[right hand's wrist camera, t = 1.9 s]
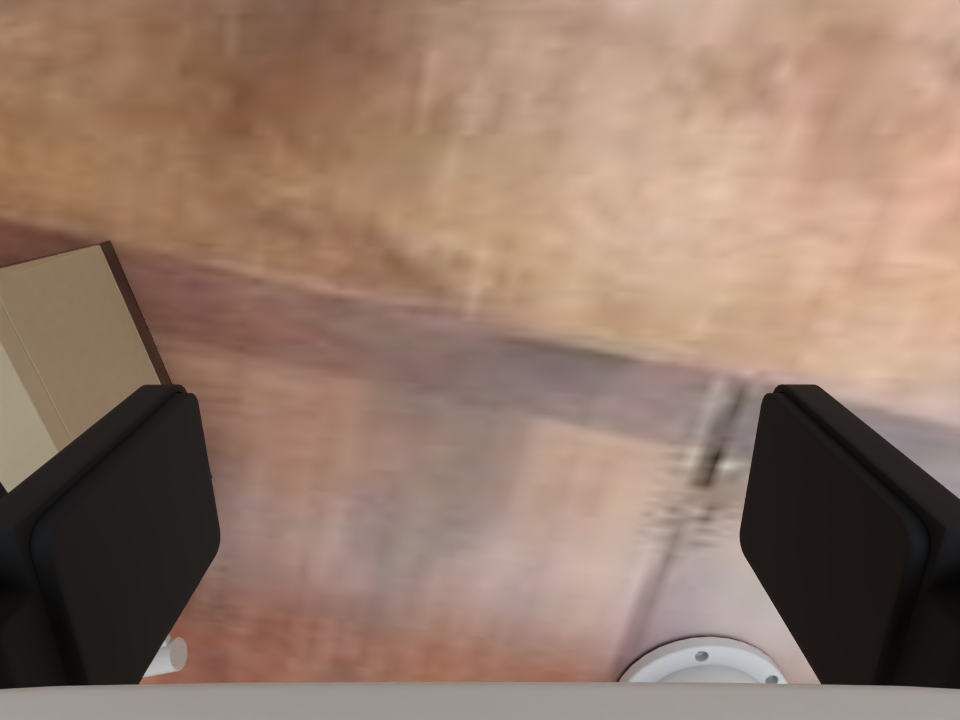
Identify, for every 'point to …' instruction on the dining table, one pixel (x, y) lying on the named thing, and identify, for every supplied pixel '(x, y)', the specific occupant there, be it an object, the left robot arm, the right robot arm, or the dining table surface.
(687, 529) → the dining table surface
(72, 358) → the cabinet
